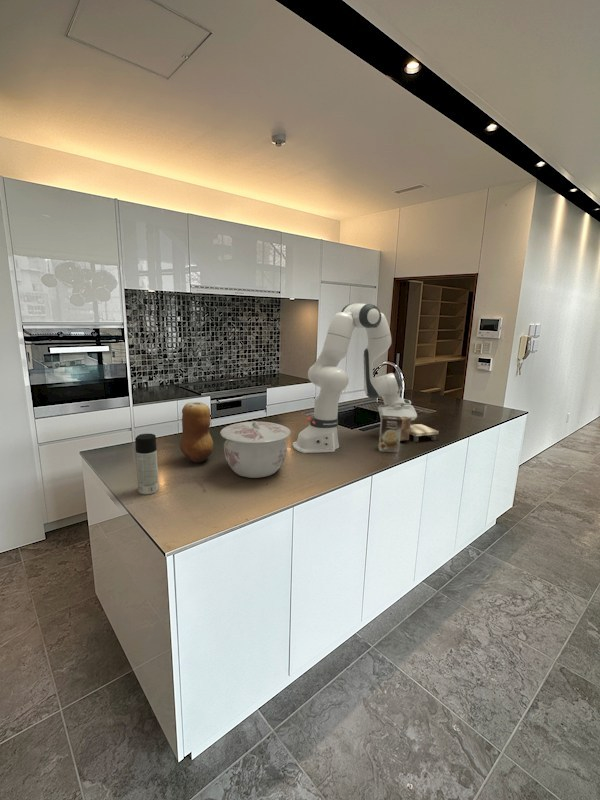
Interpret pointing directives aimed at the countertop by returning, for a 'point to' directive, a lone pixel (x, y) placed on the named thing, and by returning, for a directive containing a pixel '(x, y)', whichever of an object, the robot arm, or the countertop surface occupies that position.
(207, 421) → the butternut squash
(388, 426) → the coffee box
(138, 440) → the spray can
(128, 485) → the countertop surface
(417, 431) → the peg shelf
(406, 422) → the walnut block
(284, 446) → the chamber pot
